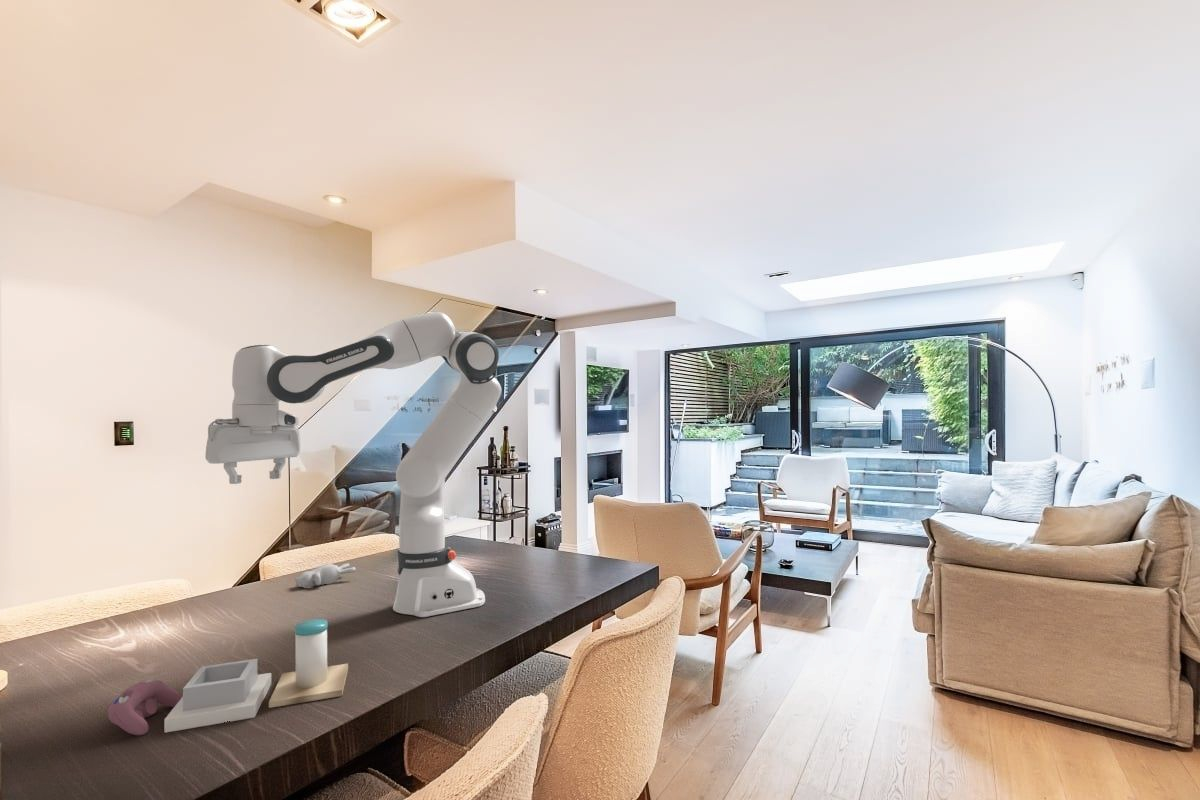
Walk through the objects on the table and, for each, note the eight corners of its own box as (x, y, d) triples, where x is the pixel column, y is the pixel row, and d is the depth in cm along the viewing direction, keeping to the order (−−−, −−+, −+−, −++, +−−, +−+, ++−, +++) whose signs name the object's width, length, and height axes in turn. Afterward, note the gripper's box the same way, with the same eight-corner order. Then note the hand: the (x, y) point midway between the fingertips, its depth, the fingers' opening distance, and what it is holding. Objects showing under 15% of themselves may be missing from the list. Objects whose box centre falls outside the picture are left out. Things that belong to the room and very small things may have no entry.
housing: (271, 683, 101) (271, 653, 101) (254, 717, 90) (254, 682, 90) (192, 696, 97) (192, 663, 97) (164, 732, 86) (164, 696, 86)
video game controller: (161, 715, 94) (141, 678, 94) (187, 700, 94) (167, 664, 94) (117, 749, 84) (94, 709, 84) (147, 733, 85) (124, 693, 84)
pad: (348, 668, 106) (348, 663, 106) (342, 695, 96) (342, 689, 96) (282, 678, 103) (282, 673, 103) (268, 707, 92) (268, 701, 92)
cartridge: (329, 672, 103) (329, 617, 103) (325, 685, 98) (325, 627, 98) (297, 677, 101) (297, 621, 101) (292, 690, 96) (292, 631, 96)
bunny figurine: (291, 571, 162) (346, 556, 172) (294, 588, 162) (348, 572, 172) (300, 578, 155) (356, 561, 164) (302, 596, 155) (358, 578, 165)
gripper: (219, 418, 113) (219, 487, 113) (305, 417, 132) (305, 476, 132) (198, 419, 116) (197, 486, 115) (285, 418, 135) (285, 476, 134)
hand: (255, 481), depth 124 cm, fingers open, 8 cm apart
